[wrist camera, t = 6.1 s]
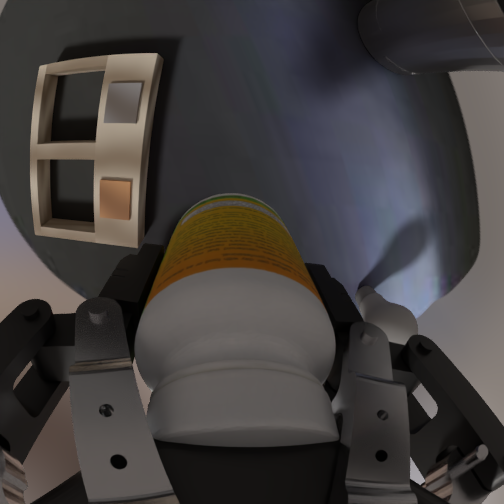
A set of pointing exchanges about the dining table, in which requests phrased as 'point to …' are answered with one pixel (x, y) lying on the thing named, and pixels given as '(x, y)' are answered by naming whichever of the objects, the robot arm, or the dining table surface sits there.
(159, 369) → the supplement bottle
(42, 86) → the socket plate
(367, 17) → the robot arm
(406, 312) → the lightbulb
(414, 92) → the dining table surface
